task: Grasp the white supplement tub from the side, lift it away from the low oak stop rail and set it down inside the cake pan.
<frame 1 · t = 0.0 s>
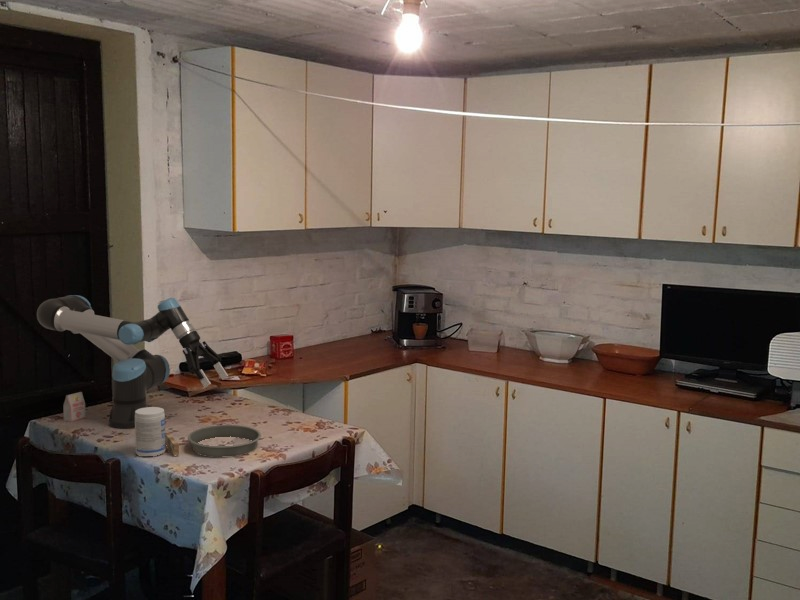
hand: (216, 381, 294), 15 cm above the table, tool tilted 35°, fingers open, 13 cm apart
supplement tub: (150, 453, 258), on the table
cake pan: (224, 448, 266), on the table
stop rail: (171, 450, 261), on the table
gable top carton: (74, 419, 293), on the table
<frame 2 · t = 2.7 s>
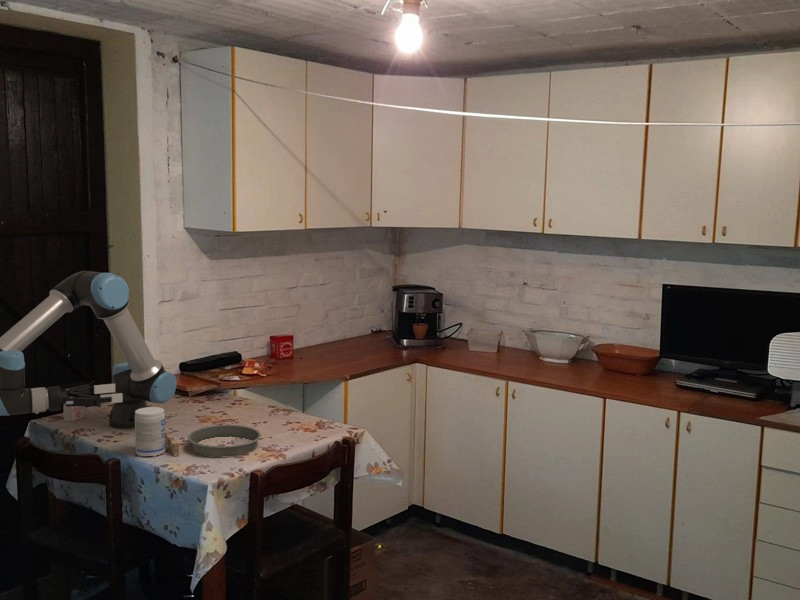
hand: (118, 392, 250), 22 cm above the table, tool horizontal, fingers open, 13 cm apart
nothing on the table moved.
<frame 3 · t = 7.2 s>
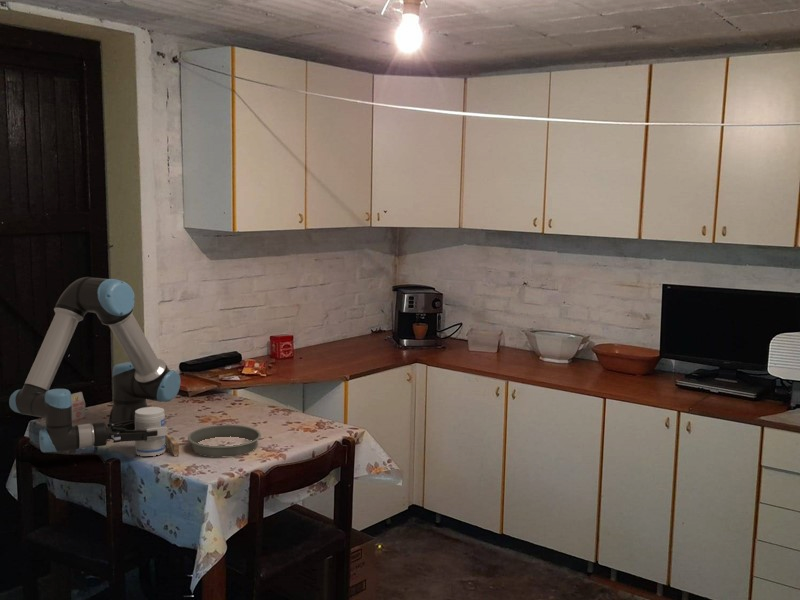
hand: (163, 426, 259), 9 cm above the table, tool horizontal, fingers closed on supplement tub, 9 cm apart
supplement tub: (150, 453, 258), on the table, touching gripper
everything else where it was.
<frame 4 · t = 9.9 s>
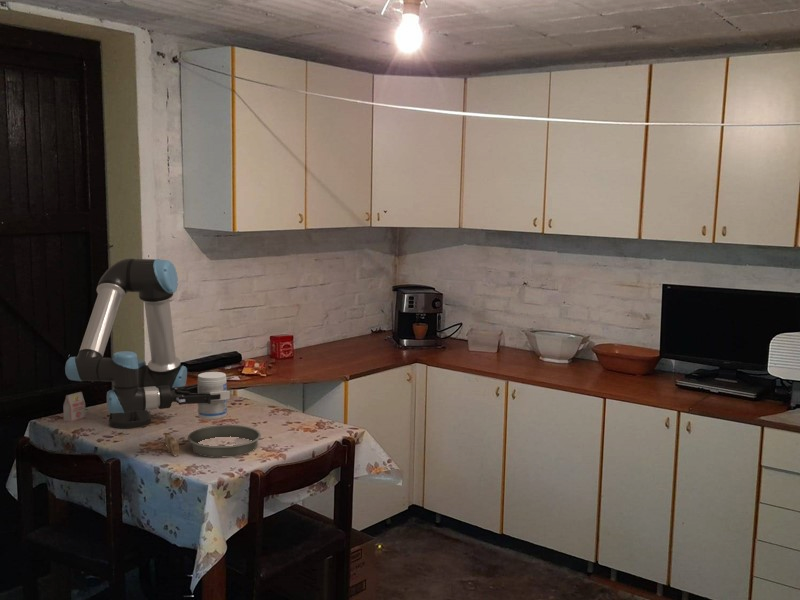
hand: (225, 391, 263), 20 cm above the table, tool horizontal, fingers closed on supplement tub, 9 cm apart
supplement tub: (212, 417, 262), point 11 cm above the table, touching gripper
everything else where it was.
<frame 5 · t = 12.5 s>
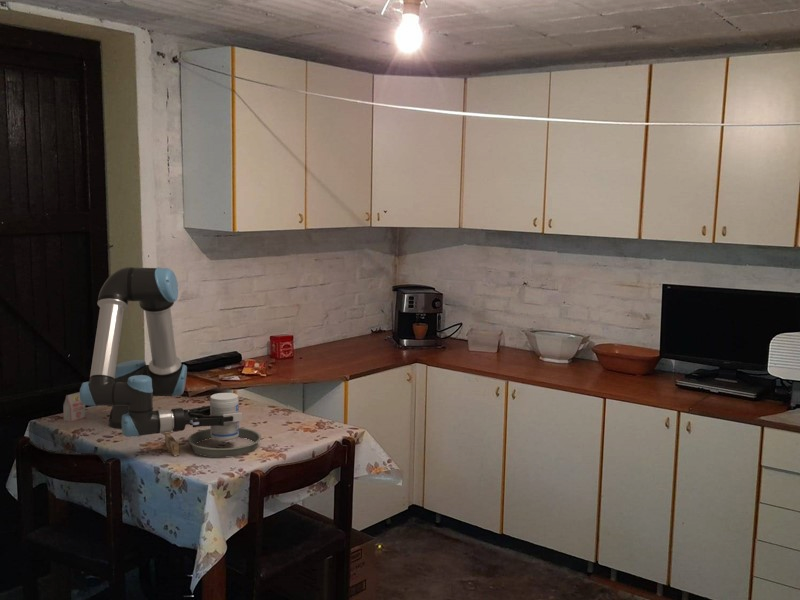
hand: (237, 412, 267), 12 cm above the table, tool horizontal, fingers closed on supplement tub, 9 cm apart
supplement tub: (224, 437, 266), point 3 cm above the table, touching cake pan, gripper
cake pan: (224, 450, 267), on the table, touching supplement tub
everything else where it was.
when the fingers open (12 cm above the table, at t = 12.8 s): supplement tub stays where it is, resting on cake pan.
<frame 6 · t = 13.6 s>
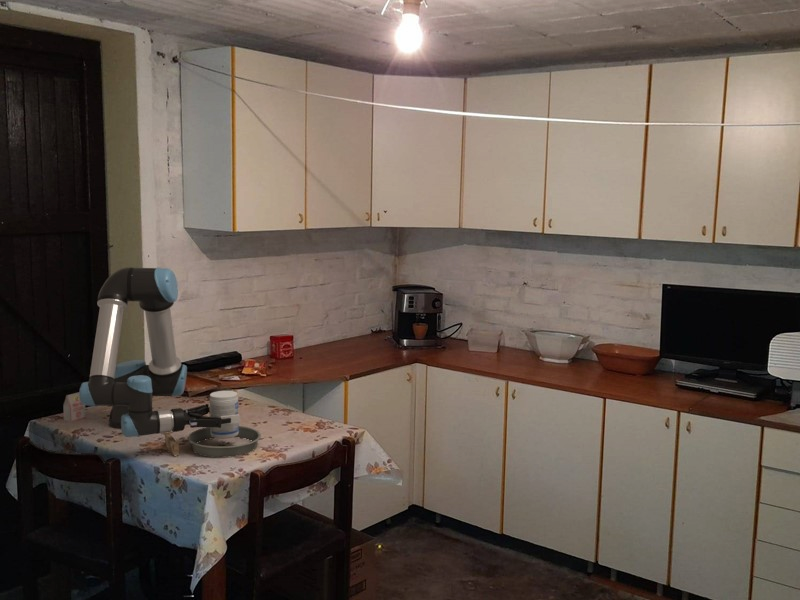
hand: (233, 413, 266), 12 cm above the table, tool horizontal, fingers open, 13 cm apart
supplement tub: (224, 435, 266), point 4 cm above the table, touching cake pan
everything else where it was.
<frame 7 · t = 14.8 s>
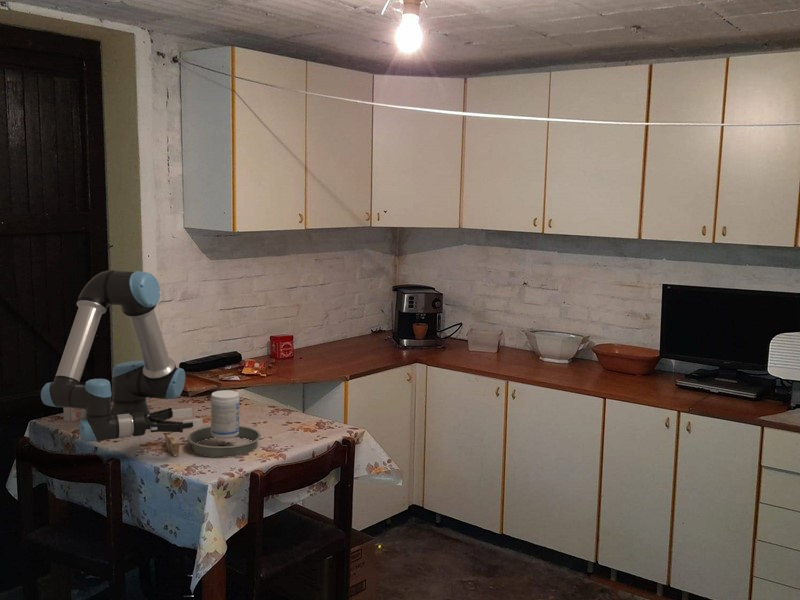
hand: (197, 417, 260), 12 cm above the table, tool horizontal, fingers open, 13 cm apart
nothing on the table moved.
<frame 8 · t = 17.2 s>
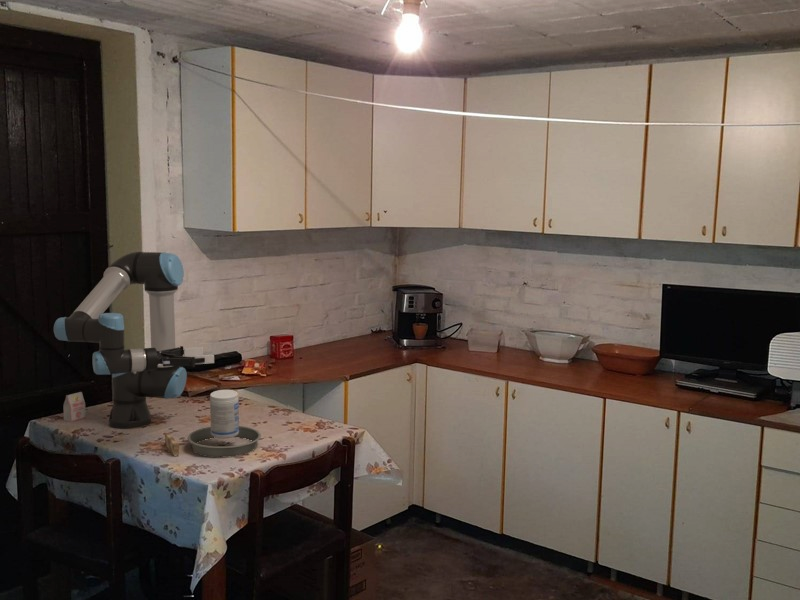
hand: (208, 354, 263), 32 cm above the table, tool horizontal, fingers open, 13 cm apart
at the end: supplement tub 0.1 cm from the cake pan (horizontally); supplement tub tilted 5°; the gripper is holding nothing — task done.
